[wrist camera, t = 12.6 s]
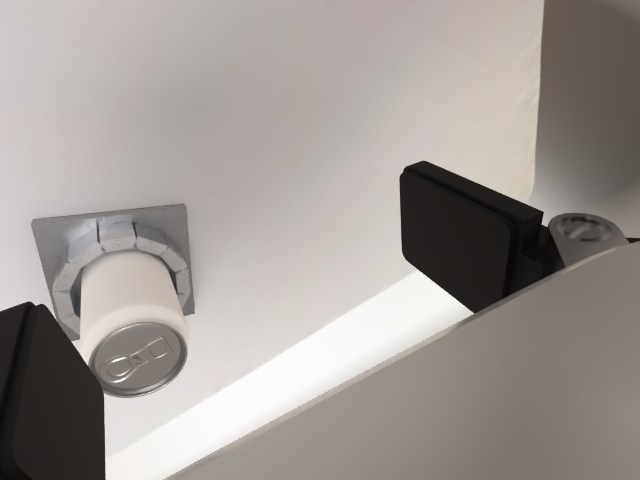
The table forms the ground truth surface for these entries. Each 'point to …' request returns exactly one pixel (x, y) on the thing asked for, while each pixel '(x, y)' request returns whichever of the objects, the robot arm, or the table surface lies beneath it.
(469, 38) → the table surface
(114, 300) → the can
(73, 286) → the duct collar
